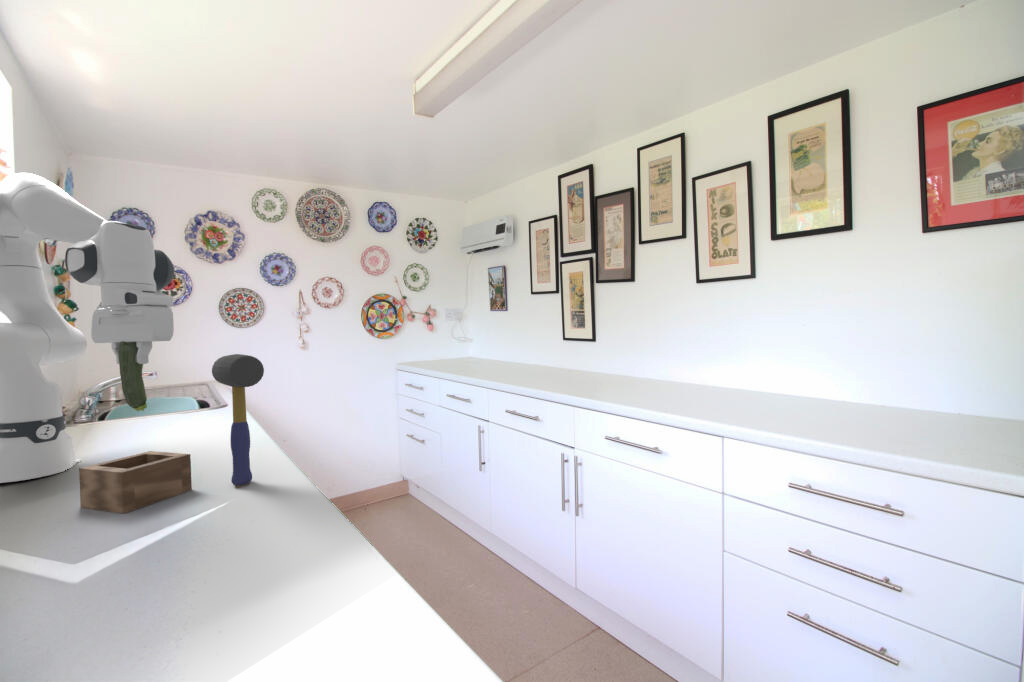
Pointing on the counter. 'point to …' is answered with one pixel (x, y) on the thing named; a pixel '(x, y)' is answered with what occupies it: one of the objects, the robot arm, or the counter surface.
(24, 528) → the counter surface
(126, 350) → the vegetable
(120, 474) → the socket block
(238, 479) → the rubber mallet
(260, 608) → the counter surface
